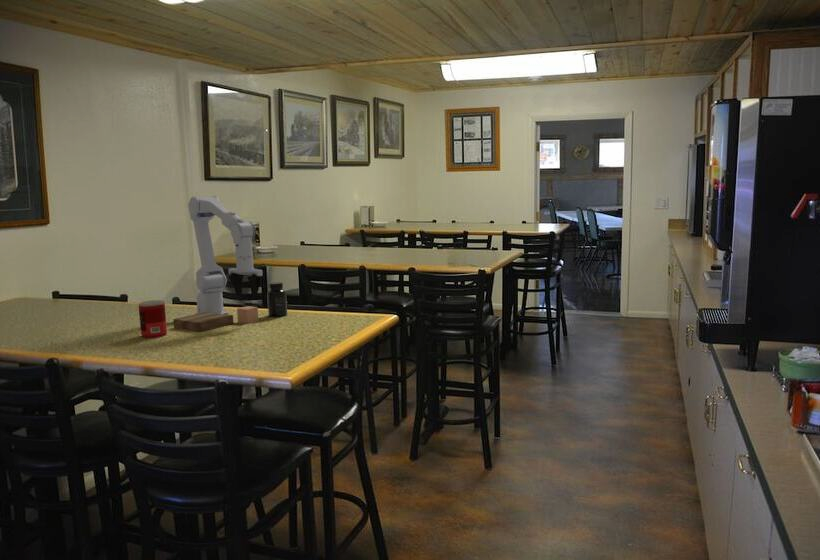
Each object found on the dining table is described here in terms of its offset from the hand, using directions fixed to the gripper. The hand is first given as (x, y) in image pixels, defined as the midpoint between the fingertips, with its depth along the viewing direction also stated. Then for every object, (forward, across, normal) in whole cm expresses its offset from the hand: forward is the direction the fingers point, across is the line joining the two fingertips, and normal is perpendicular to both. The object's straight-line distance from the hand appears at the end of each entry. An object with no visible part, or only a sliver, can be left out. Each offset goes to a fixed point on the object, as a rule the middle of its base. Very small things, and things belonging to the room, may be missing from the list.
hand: (246, 295), depth 237 cm
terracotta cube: (+10, 0, 0) cm, 10 cm away
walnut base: (+9, -9, -12) cm, 18 cm away
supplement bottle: (+10, +2, +13) cm, 16 cm away
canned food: (+10, -12, -30) cm, 34 cm away
